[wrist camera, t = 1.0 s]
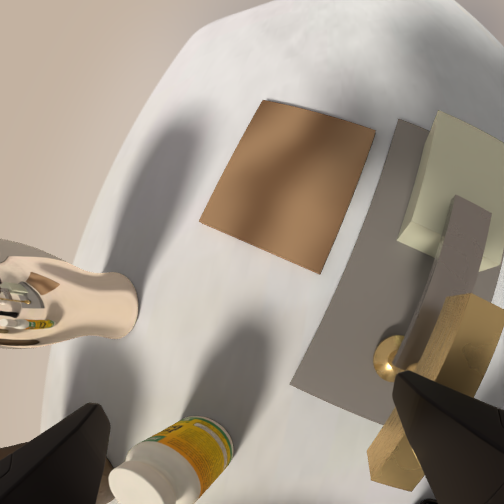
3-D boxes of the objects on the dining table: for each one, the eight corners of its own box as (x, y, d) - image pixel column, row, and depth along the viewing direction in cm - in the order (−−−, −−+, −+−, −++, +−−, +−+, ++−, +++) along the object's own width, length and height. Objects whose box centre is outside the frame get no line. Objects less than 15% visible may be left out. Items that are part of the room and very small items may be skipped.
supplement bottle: (209, 479, 19) (148, 538, 10) (164, 437, 21) (88, 478, 12) (249, 446, 19) (194, 513, 10) (199, 401, 21) (120, 441, 12)
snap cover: (490, 176, 17) (514, 149, 12) (469, 274, 16) (500, 264, 12) (424, 144, 18) (438, 110, 14) (396, 240, 18) (411, 220, 14)
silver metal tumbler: (152, 331, 23) (-16, 333, 9) (99, 351, 24) (-43, 356, 10) (132, 255, 25) (-18, 207, 11) (83, 283, 26) (-49, 257, 12)
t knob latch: (461, 238, 16) (541, 181, 7) (388, 412, 16) (423, 494, 6) (425, 221, 17) (485, 147, 8) (350, 396, 17) (356, 475, 7)
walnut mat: (375, 134, 21) (375, 130, 20) (319, 274, 20) (319, 273, 20) (264, 103, 24) (262, 99, 24) (202, 223, 24) (198, 221, 23)
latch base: (509, 180, 17) (515, 174, 16) (422, 433, 16) (426, 440, 15) (396, 126, 21) (398, 118, 19) (292, 380, 19) (289, 384, 18)
